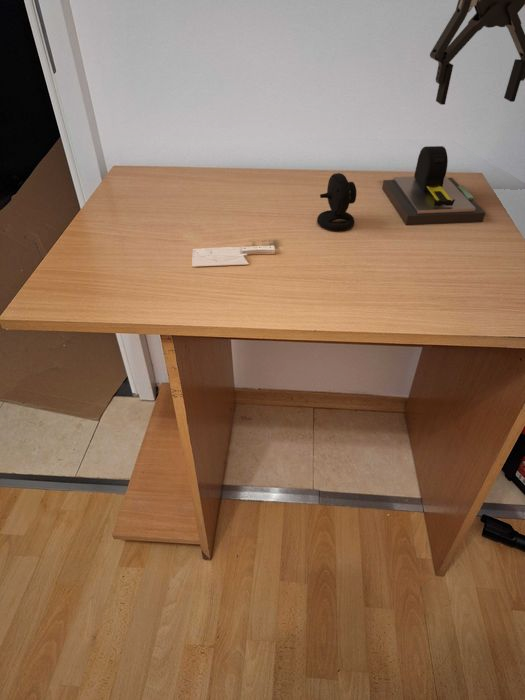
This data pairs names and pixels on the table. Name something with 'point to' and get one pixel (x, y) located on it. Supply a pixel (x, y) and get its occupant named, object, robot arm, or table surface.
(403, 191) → the pan
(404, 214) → the scale base
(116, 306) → the table surface
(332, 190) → the webcam
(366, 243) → the table surface
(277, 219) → the table surface
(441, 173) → the tape measure
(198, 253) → the toy cleaver knife
